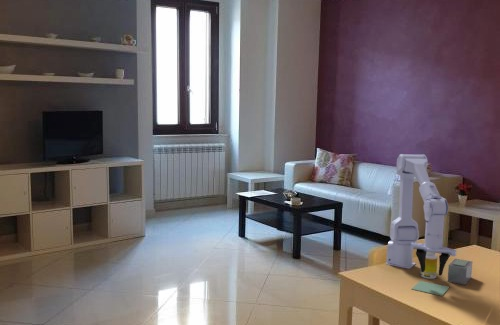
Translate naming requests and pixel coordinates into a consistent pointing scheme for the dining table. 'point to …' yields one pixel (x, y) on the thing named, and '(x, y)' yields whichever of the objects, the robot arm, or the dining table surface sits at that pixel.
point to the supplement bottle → (430, 266)
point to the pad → (430, 288)
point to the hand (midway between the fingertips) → (431, 273)
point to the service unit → (460, 271)
